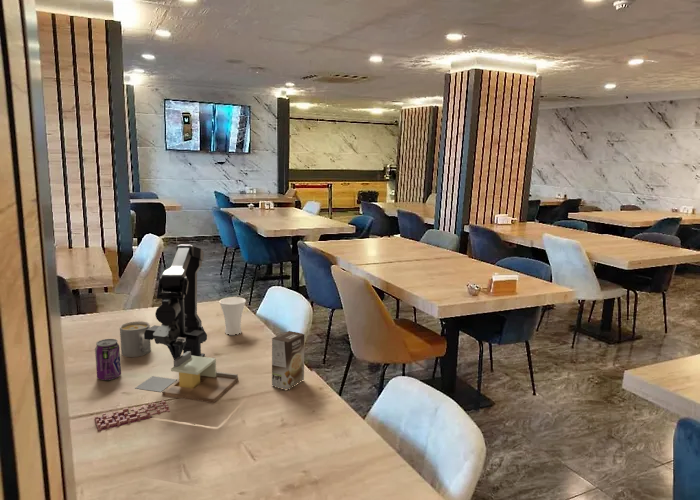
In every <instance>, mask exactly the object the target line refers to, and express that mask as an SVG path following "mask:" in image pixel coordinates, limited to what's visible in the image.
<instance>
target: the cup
mask: <svg viewBox="0 0 700 500" xmlns="http://www.w3.org/2000/svg"><path fill="white" fill-rule="evenodd" d="M218 302H219V304H220V308H221V310H222V313H223V318H224V324H225V329H224V333H226V334H225V335H227V334H229V335H228V336H236V335H235V334H237V335H240V334H241V333H242V316H243V313H244V308H245V306H246V305H245V304H246V302H247V300H246V299H245V297H244V298H243V297H239V296H228V297H223V298H222V299H220V300H219V301H218ZM239 333H240V334H239Z"/></svg>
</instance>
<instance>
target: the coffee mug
mask: <svg viewBox="0 0 700 500" xmlns="http://www.w3.org/2000/svg"><path fill="white" fill-rule="evenodd" d="M150 327H151V325H150V323H149V322H147V321H143V320H141V321H140V320H138V321H136V320H135V321H129V322H126V323H122V324H121V325H120V326H119V337H120V338H119V339H120V355H122V356H123V357H125V358H126V357H127V358H137V357H142V356H145V355H148V354H149V353H150V352H151V351H152V347H151V346H152V345H151V340H148V339H144V332H145V330H146V329H148V328H150Z"/></svg>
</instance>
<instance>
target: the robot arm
mask: <svg viewBox="0 0 700 500" xmlns="http://www.w3.org/2000/svg"><path fill="white" fill-rule="evenodd" d="M204 259H205V258H204V251H203V249H202V248H201V247H197V246H195V245H192V244H178V245H177V246H176V249H175V255H174V257H173V260H172V262H171V265H170V267H169V268H167V269H165V270H164V271H163V272H162V274H161V276H159V280H158V285H157V292H156V299H159V300H161V304H160V305H159V306H158V307H157V308H156V311H155V319H156V320H157V321H158V322H159V323H161V325H153V326H150V328H148V329H146V330H145V332H144V339H148V340H150V341H153V340H154V343H155V344H157V345H159V344H161V345H165V346H166V347H167V348H168V350H169V352H170V355H171V357H172V359H173V361H174V360H175V359H177V358H178V357H180V356H181V355H183V354H184V353H186V352H187V351H191V355H192V356H200V357H205V356H206V355H205V353H202V349H201V348H202V345H201V344H203V343H205V342H206V341H207V340H208V334H207V333H206V330H205V327H204V326H202V320H201V318H200V316H199V314H198V272H199V271H200V269H201V267H202V265H203V261H204ZM182 353H183V354H182Z"/></svg>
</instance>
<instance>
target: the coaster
mask: <svg viewBox="0 0 700 500" xmlns="http://www.w3.org/2000/svg"><path fill="white" fill-rule="evenodd" d="M177 380H178V378H177V379H176V378H169V377H162V376H161V377H160V376H156V375H151V377H149V378H148V379H146V380H145V381H143V382H141V383H140V384H139V385H137V386H136V387H134V389H137V390H144V391H150V392H157V393H162V392H163V391H164V390H165V389H167V388H168V387H169V386H171V385H172V384H173V383H175V382H176V381H177Z"/></svg>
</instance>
